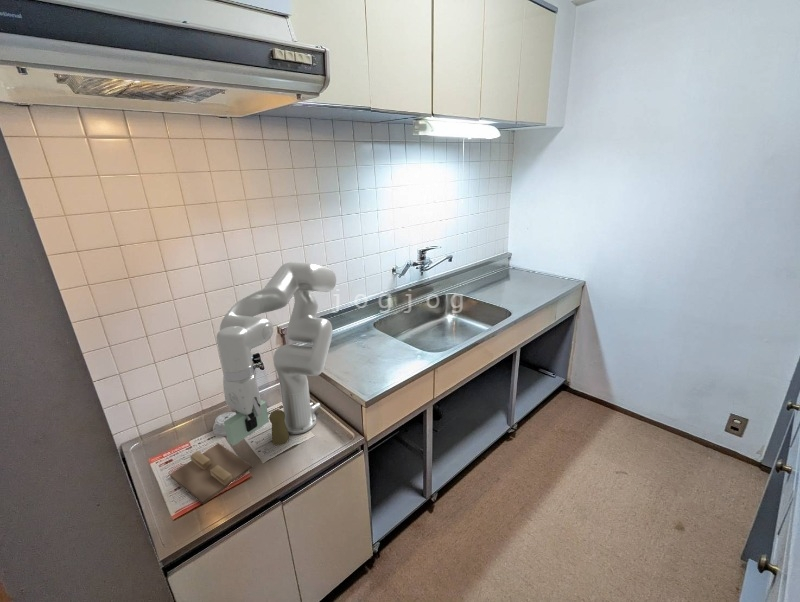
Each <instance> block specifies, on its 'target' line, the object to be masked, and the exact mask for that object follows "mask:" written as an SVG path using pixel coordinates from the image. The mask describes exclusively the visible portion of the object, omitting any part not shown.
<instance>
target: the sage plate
mask: <svg viewBox="0 0 800 602" xmlns="http://www.w3.org/2000/svg"><path fill="white" fill-rule="evenodd" d="M260 400H261V406H260V407H259V408H260V410H261V412H262V414H261V415H259V416H256V419H257V427H256V428H254V429H253V430H251V431H250V432H248V431H247V429H246V423H245V420H246V416H245V414H242V413H240V412H239V413H237V414H236V415H234V416H232V417H231V418H229V419H227V420H226V421H224V426H225V431H226V436H225V437H226V439H227V443H228V444H229V445H231V446H233V447H234V446H235V445H237V444H238V443H241V442H242V441H243V440H245V439H246V438H247V437H249V436H250V435H252V434H253V433H255V432H256V431H257V430H260V429H261V428H262V427H263V426H265V425H266V424H268V423H269V422H270V420H269V413H268V406H267V401H265V400H262V399H261V398H260ZM251 413H252V412H251ZM251 413H250V414H251ZM250 414H249V415H250Z"/></svg>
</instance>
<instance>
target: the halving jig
mask: <svg viewBox="0 0 800 602" xmlns="http://www.w3.org/2000/svg"><path fill="white" fill-rule="evenodd" d="M189 456H190V461H189V462H187V463H185V464H184V465H182V466H181V467H179V468H178V469H176V470H174V471H173V472H171V473H170V474H169V476H170V478H171V479H172V480H173V481H174V482H176V483H177V484H178V485H180V487H182V488H183V489H184V490H186V491H187V492H188V493H189V494H190V495H191V496H193V497H194V499H196V498H197V499H198V500H197V499H196V500H197V501H199V502H200V503H201V504H202V505H203V506H204V505H205V504H206V503H207V502H209V501H210V500H212V499H213V498H214V497H215V496H217V495H218V494H220V493H221V492H223V490H225V489H227V488H228V487H229V486H230V485H231V484H232V483H231V482H233V481H234V480H235V481H237V480H238V479H239V478H240V476H241V475H242V476H244V475H245V474H246V473H248V472H249V471H250V470H251V469H253V465H252V464H250V463H249V462H248V461H246V460H245V459H243V458H242V457H241V456H239V455H238V454H236V453H234V452H233V451H232V450H229V449H228V448H226V447H225V446H224V445H222V444H220V443H217V444H214V445H213V446H212V447H211V448H209V449H208V450H205V451H204V452H201V451H199V450H196V451H195V452H194V453H192V454H190V455H189ZM244 473H245V474H244ZM242 476H241V477H242ZM237 478H238V479H237ZM236 479H237V480H236ZM235 481H234V482H235ZM234 482H233V483H234ZM230 483H231V484H230ZM229 484H230V485H229ZM228 485H229V486H228Z"/></svg>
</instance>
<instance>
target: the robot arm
mask: <svg viewBox="0 0 800 602" xmlns="http://www.w3.org/2000/svg"><path fill="white" fill-rule="evenodd" d="M336 284H337V276H336V273H335V271H334V270H333V269H331V268H329V267H327V266H326V267H325V266H322V265H319V264H315V263H308V262H307V263H306V262H293V261H292V262H291V261H290V262H285V263H283V264H282V265H281V266H280V267H279V268H278V269H277V271H276V272H275V273H274V274H273V276H272V277H271V279H270V280H268V282H267V283H266V285H265V286H264V287H263V288H262V289H260V290H258V291H255V292H253V293H251V294H249V295H247V296H245V297H243V298H242V299H240V300H239V301H237V302H236V303H235V304H233V306H231V308H230V309H229V310H228V311H227V313H226V314H225V315H224V317H223V318H222V320H221V322H220V325H219V331H218V332H217V333H216V337H215V338H216V344H217V348H218V354H219V359H220V364H221V369H222V372H223V377H222V380H223V381H222V385H223V392H224V393H223V394H224V399H225V404H226V406H227V407H229V408H230V409H233V410H234V412H235V413H236V414H237V413H239V412H240V413H242V414H245V416H246V420H245V423H246V429H247V431H248V432H250V431H251V430H253V429H254V428H256V427H257V419H256V416H259V415H261V414H262V412H261V410H260V408H259V407H260V406H261V400H262V399H261V396H260V390H259V387H258V384H257V383H258V382H257V380H256V377H255V371H254V370H255V369H254V365H253V358H252V352H251V351H252V349H254V348H257V347H259V346H262V345H264V344H266V343H267V342H268V341H269V340H270V339H271V338H272V336H273V333H274V326H273V323H272V322H271V321H270V319H267V318H266V317H265V318H264V317H258V315H261V314H265V313H270V312H273V311H277V310H281V309H284V308H285V307H286V306H287V305H288V304H289V302H290V301H291V299H292V298H293V299H294V303H293V308H292V311H291V314H290V318H289V320H288V325H287V328H286V337H287V339H288V340H289V341H291V342H293V343H299V344H305V346H304V345H299V344H298V345H297V344H283V345H280V346H279V347H277V348H276V350H275V351H274V353H273V365H274V368H275V371H276V373H277V377H278V381H279V386H280V395H281V400H282V401H281V402H282V408H283V409H282V411H283V412H284V413H285V420H284V421H285V424H286V427H287V430H288V433H289V435H298V434H303V433H306V432H308V431H309V430H311V429H312V428H314V426H315V425H316V423H317V416H316V414H315V411H316V410H318V409H319V408H320V407H321V406H322V405H321V403H319V402H316V403H315V404H314V403H313V402H311V396H310V388H309V380H308V376H309V377H317V376H319V375H320V374H322V373H323V371H324V368H325V365H326V362H327V358H328V353H329V350H330V346H331V343H332V338H333V324H332V323H331V321H330V320H329V319H327V318H323V317H317V313H318V309H319V304H318V302H317V299H316V298H315V296H314V294H313V293H312V292H319V293H321V292H322V293H329V292H332V291H333V290H334V288H335V287H336ZM306 344H308V345H312V346H306ZM260 399H261V400H260ZM251 412H252V413H251ZM250 413H251V414H250ZM249 414H250V415H249Z"/></svg>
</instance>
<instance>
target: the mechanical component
mask: <svg viewBox="0 0 800 602" xmlns="http://www.w3.org/2000/svg"><path fill="white" fill-rule="evenodd" d="M234 415H236V411H228V412H225V411H224V412H223V413H221V414H219V415H218V416H217V417H216V418H215V420H214V424H213V426H212V431H213V434H214V435H216V436H218V437H227V436H226V431H225V426H224V421H226V420H227V419H229V418H231V417H232V416H234Z"/></svg>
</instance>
